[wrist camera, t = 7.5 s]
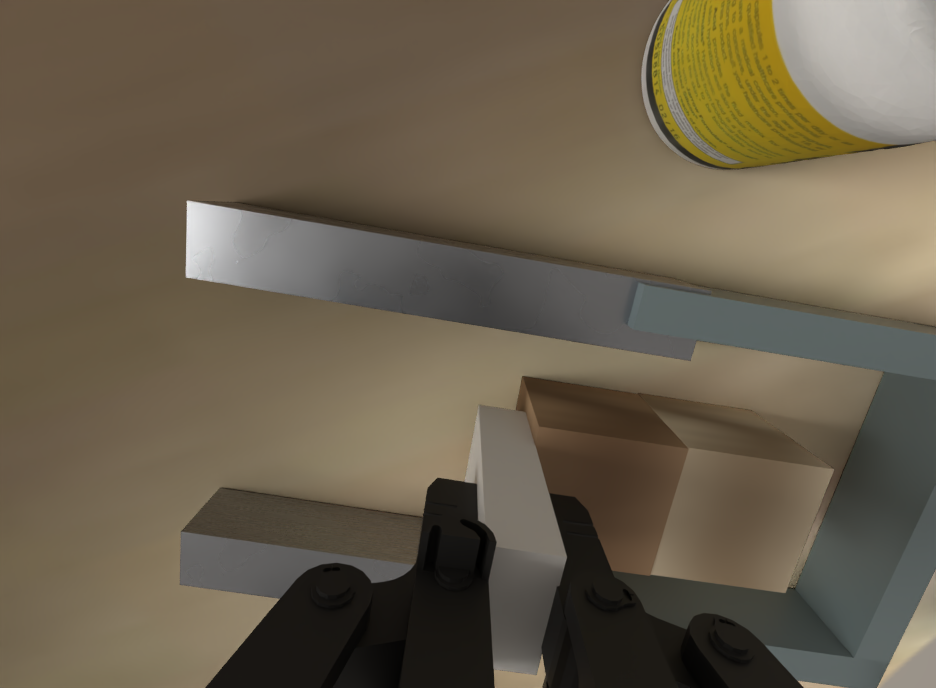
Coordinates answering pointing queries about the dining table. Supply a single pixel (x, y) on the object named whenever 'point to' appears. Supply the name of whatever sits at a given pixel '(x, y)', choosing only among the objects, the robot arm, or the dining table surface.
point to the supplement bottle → (790, 78)
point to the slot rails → (393, 289)
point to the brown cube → (607, 463)
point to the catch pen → (854, 502)
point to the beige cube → (737, 498)
